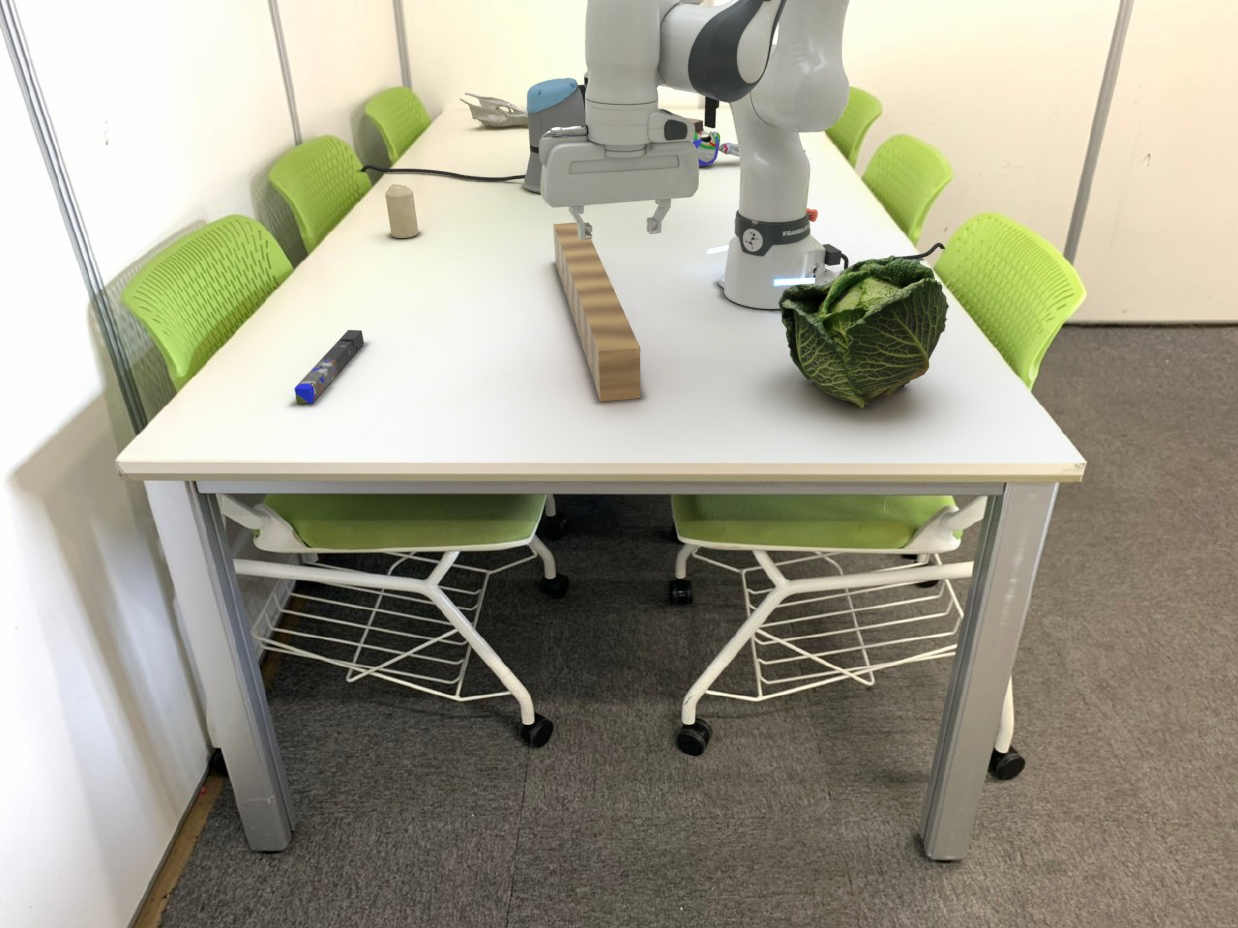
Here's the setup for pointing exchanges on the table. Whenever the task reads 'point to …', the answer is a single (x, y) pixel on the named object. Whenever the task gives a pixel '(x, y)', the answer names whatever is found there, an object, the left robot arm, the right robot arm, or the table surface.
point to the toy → (712, 147)
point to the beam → (597, 316)
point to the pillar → (328, 367)
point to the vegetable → (865, 327)
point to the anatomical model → (496, 112)
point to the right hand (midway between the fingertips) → (619, 235)
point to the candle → (401, 211)
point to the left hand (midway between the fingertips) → (680, 131)
